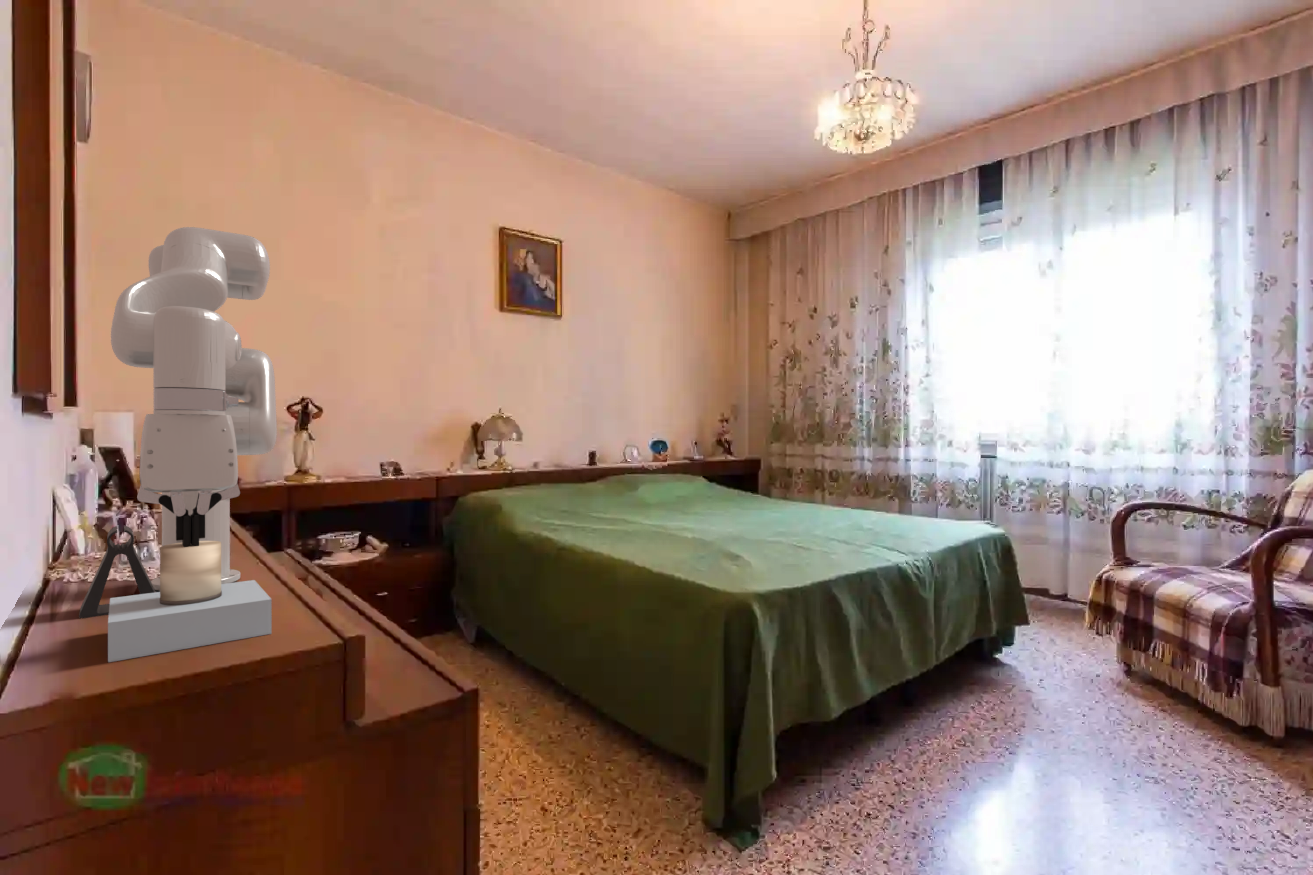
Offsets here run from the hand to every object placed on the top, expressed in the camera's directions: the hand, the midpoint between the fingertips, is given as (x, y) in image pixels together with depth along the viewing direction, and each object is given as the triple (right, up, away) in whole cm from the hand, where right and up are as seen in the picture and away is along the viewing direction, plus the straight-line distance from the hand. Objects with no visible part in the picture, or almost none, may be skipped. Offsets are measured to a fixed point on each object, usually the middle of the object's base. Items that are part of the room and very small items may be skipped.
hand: (190, 544), depth 81 cm
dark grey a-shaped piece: (-19, -12, +12) cm, 25 cm away
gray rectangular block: (0, -12, 0) cm, 12 cm away
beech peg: (0, -11, 0) cm, 11 cm away
